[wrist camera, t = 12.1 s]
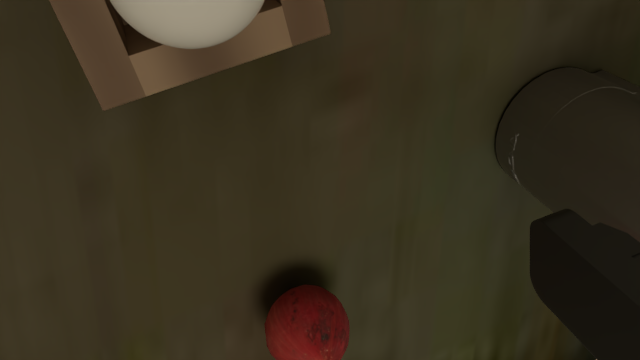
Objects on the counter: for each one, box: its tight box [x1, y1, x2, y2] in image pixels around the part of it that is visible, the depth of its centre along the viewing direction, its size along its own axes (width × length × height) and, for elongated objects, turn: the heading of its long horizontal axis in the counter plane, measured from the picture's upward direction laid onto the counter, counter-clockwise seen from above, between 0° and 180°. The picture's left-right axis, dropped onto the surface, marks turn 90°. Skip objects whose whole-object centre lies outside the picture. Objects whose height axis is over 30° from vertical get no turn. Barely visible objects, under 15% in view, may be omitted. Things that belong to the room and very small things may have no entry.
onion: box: [265, 284, 349, 360], centre depth 40 cm, size 6×6×8 cm
